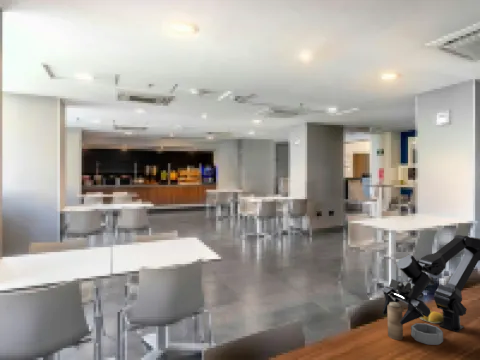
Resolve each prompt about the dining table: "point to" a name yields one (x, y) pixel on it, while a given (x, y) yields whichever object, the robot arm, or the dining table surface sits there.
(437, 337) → the bin
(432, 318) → the bread roll
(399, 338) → the pepper mill
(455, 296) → the robot arm
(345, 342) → the dining table surface
